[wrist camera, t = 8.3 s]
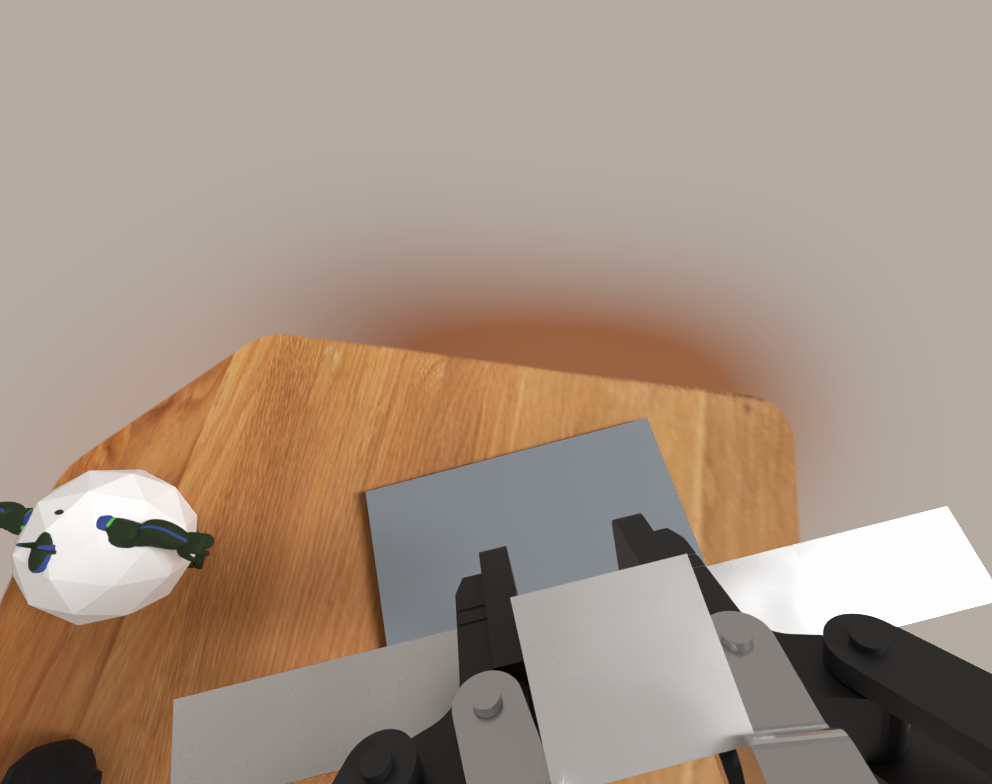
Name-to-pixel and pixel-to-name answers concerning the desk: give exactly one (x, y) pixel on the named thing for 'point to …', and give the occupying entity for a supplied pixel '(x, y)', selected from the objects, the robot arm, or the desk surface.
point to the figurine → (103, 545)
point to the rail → (588, 661)
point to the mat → (515, 521)
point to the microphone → (55, 765)
